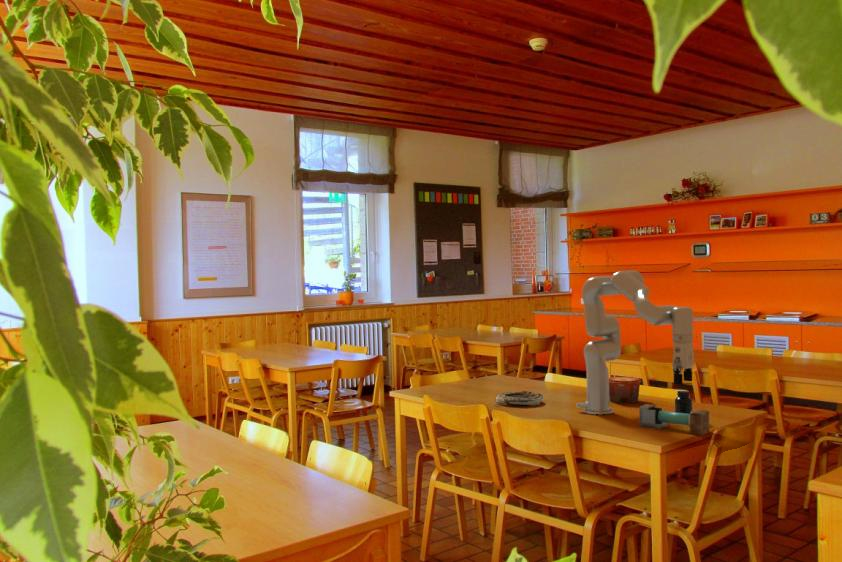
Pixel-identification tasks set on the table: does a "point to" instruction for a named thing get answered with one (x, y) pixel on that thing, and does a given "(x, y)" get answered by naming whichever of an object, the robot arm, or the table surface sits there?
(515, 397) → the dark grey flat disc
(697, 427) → the socket block
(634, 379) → the food container
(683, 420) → the tube
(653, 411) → the sleeve
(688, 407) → the supplement bottle
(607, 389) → the robot arm
